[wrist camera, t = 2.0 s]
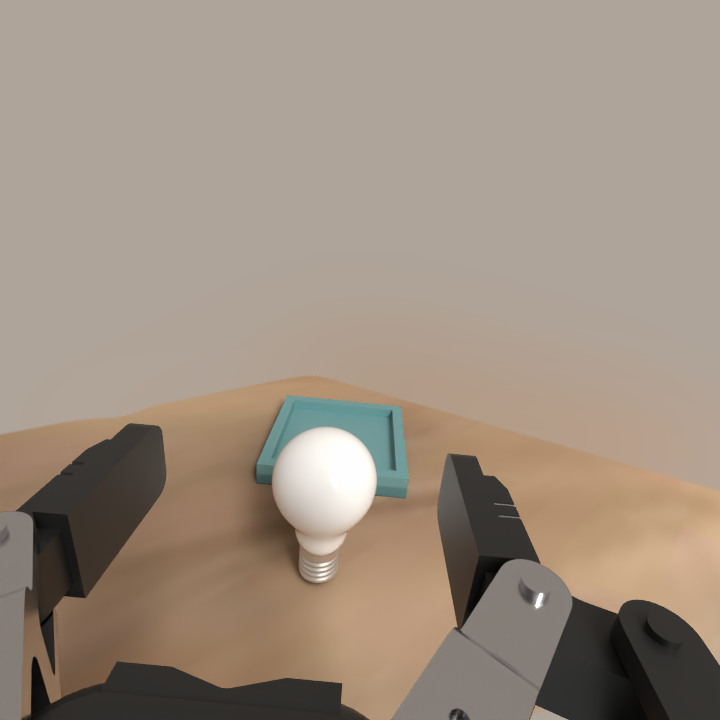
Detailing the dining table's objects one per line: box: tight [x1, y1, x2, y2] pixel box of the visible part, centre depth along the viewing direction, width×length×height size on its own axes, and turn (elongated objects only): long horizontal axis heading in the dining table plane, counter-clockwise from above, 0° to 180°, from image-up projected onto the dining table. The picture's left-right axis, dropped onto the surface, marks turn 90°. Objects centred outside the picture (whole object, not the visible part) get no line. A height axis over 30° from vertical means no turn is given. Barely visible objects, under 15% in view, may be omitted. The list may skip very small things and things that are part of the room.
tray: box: [257, 395, 409, 498], centre depth 42 cm, size 13×13×2 cm
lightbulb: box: [272, 427, 377, 583], centre depth 27 cm, size 6×6×11 cm
